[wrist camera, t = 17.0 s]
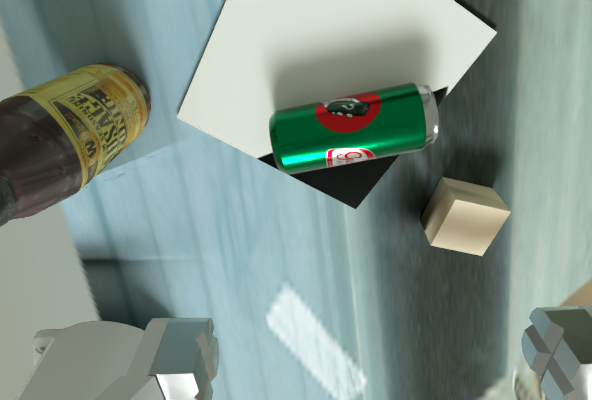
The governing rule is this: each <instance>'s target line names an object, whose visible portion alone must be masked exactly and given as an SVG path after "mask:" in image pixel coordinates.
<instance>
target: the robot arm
mask: <svg viewBox="0 0 592 400" xmlns="http://www.w3.org/2000/svg"><path fill="white" fill-rule="evenodd" d="M529 319H530V320H531V322H532V323H533V324H532V325H531V326H529V327H528V328H527V329H525V330H524V333H523V336H522V350H523V353H524V356H525V359H526V361H527V363H528V365H529V367H530V368H531V369H532V370H533V371H535V372H536V373H537V374H539V375H540V376H542V377H541V382H540V386H541V388H542V390H543V392H544V393H545V395H546V397H547V399H548V400H592V306H579V307H576V306H567V307H543V308H536V309H534V310H533V311H532V313H531V315H530V317H529ZM213 329H214V325H213V322H212V318H152V320H151V321H150V322H149V323H148V324H147V327H146V329H145V331H144V330H142V329H139V328H137V327H134V326H130V325H127V324H123V323H117V322H110V321H91V322H84V323H79V324H76V325H74V326H71V327H68V328H65V329H52V330H51V329H49V330H40V331H38V332H37V333H36V335H35V337H34V339H33V342H32V343H33V361H34V369H33V371H32V372H31V374H30V376H29V377H28V379H27V381H26V382H25V384H24V385H23V387H22V389H21V390H20V392H19V394H18V395H17V397H16V399H15V400H212V395H213V390H212V387H211V383H210V382H211V381H212V380H213V379H214V378H215V376H216V375H217V370H218V363H219V346H218V341H217V338H216V337H215V336H213V335H212V334H213Z"/></svg>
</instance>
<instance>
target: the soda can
mask: <svg viewBox="0 0 592 400" xmlns="http://www.w3.org/2000/svg"><path fill="white" fill-rule="evenodd" d="M438 133H439V118H438V109H437V104H436V100H435V97H434V94H433V91H432V89H431V87H430V86H429V85H424V86H420V85H417V84H415V83H412V82H411V83H406V84H402V85H397V86H392V87H387V88H382V89H378V90H373V91H368V92H363V93H358V94H354V95H349V96H344V97H339V98H335V99H330V100H325V101H320V102H315V103H311V104H306V105H301V106H296V107H291V108H287V109H282V110H277V111H275V112H274V113H273V115H272V116H271V117H270V119H269V135H270V141H271V146H272V151H273V155H274V158H275V161H276V164H277V166H278V168H279V169H280V171H282V172H284V173H286V174H288V175H290V174H295V173H301V172H306V171H311V170H317V169H322V168H328V167H333V166H338V165H344V164H349V163H355V162H360V161H365V160H371V159H376V158H382V157H387V156H392V155H398V154H403V153H409V152H414V151H419V150H422V149H423V148H425V147H426V146H427V145H428V144H429V143H434V142H436V141H437V139H438Z"/></svg>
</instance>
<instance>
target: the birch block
mask: <svg viewBox="0 0 592 400" xmlns="http://www.w3.org/2000/svg"><path fill="white" fill-rule="evenodd" d="M510 213H511V211H510V210H509V208H508V207H507V206H506V205H505V203H504V202H503V201H502V200H501V198H500V197H499V196H498V195H497V193H496V192H495V191H494V190H493V189H492V188H489V187H485V186H481V185H476V184H472V183H467V182H463V181H458V180H454V179H450V178H445V177H441V179H440V181H439V183H438V185H437V187H436V189H435V191H434V193H433V195H432V197H431V199H430V201H429V203H428V205H427V207H426V209H425V211H424V213H423V215H422V217H421V219H420V222H421V224H422V226H423V229H424V231H425V233H426V236H427V238H428V240H429V243H430V245H432V246H437V247H441V248H446V249H451V250H456V251H461V252H466V253H471V254H475V255H480V256H482V255H483V254H484V252H485V251H486V249H487V248H488V246H489V245H490V243H491V242H492V240H493V239H494V237H495V236H496V234H497V232H498V231H499V229H500V228H501V226H502V225H503V223H504V222H505V220H506V219H507V217H508V216H509V214H510Z"/></svg>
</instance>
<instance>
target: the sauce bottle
mask: <svg viewBox="0 0 592 400" xmlns="http://www.w3.org/2000/svg"><path fill="white" fill-rule="evenodd" d="M150 110H151V105H150V98H149V96H148V94H147V91H146V90H145V88H144V87H143V85H142V83H141V82H140V81H139V80H138V79H137V77H135V75H134V74H132V73H131V72H129V71H128V70H126V69H123V68H121V67H118V66H115V65H112V64H108V63H100V64H95V65H87V66H84V67H81V68H79V69H77V70H74V71H72V72H70V73H67V74H65V75H62V76H60V77H58V78H55V79H53V80H51V81H48V82H46V83H43V84H41V85H38V86H36V87H34V88H31V89H29V90H26V91H24V92H21V93H18V94H16V95H14V96H11V97H9V98H7V99H4V100H2V101H1V102H0V226H2V225H4V224H5V223H7V222H8V221H9V220H12V219H17V218H24V217H29V216H32V215H35V214H37V213H39V212H40V211H42V210H44V209H46V208H48V207H50V206H52V205H54V204H56V203H58V202H60V201H62V200H64V199H66V198H68V197H70V196H72V195H74V194H76V193H77V192H78V191H80V190H81V189H82V188H83V187H84V186H85V185H86V184H87V183H89V181H90V180H91V179H92V178H93V177H95V176H96V175H97V174H98V173H99V172H100V171H101V170H102V169H103V168H104V167H105V166H106V165H107V164H108V163H110V162H111V161H112V160H113V159H114V158H115V157H116V156H117V155H118V154H119V153H120V152H121V151H122V150H124V149H125V148H126V147H127V146H128V145H129V144H130V143H131V142H132V141H133V140H134V139H135V138H136V137H137V136H138V135H139V134H140V133H141V132H142V130H143V128H144V127H145V126H146V124H147V121H148V119H149V115H150Z"/></svg>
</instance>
